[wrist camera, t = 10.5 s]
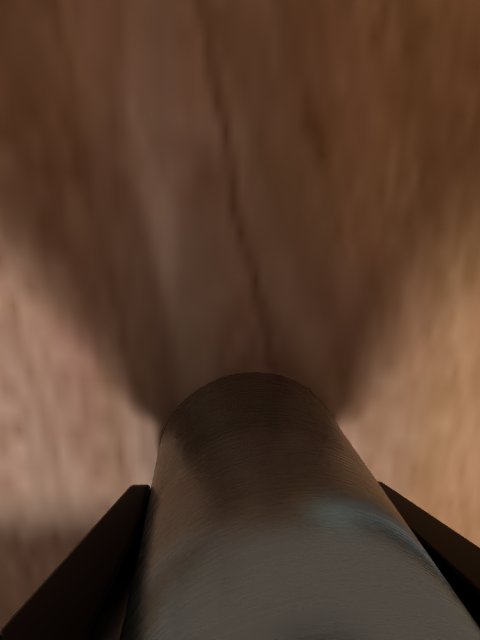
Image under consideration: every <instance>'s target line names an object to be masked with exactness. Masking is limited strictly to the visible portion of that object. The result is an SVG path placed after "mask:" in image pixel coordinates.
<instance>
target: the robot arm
mask: <svg viewBox="0 0 480 640" xmlns="http://www.w3.org/2000/svg"><path fill="white" fill-rule="evenodd" d="M377 482H378V483H379V485H380V486H381V488H382V489H383V490H384V492H385V493H386V495H387V496H388V498H389V499H390V500H391V502H392V503H393V505H394V506H395V508H396V509H397V510H398V512H399V513H400V515H401V516H402V517H403V519H404V520H405V522H406V523H407V525H408V526H409V527H410V529H411V530H412V532H413V533H414V535H415V536H416V537H417V539H418V540H419V542H420V543H421V545H422V546H423V547H424V549H425V550H426V552H427V553H428V555H429V556H430V557H431V559H432V560H433V562H434V563H435V565H436V566H437V567H438V569H439V570H440V572H441V573H442V575H443V576H444V577H445V579H446V580H447V582H448V583H449V584H450V586H451V587H452V589H453V590H454V592H455V593H456V594H457V596H458V597H459V599H460V600H461V602H462V603H463V604H464V606H465V607H466V609H467V610H468V612H469V613H470V614H471V616H472V617H473V619H474V620H475V622H476V623H477V624H478V626H479V627H480V548H479V547H478V546H476V545H475V544H473V543H472V542H470V541H469V540H467V539H466V538H464V537H463V536H461V535H460V534H458V533H457V532H455V531H454V530H452V529H451V528H449V527H448V526H446V525H445V524H443V523H442V522H440V521H439V520H437V519H436V518H434V517H433V516H431V515H430V514H428V513H427V512H425V511H424V510H422V509H421V508H419V507H418V506H416V505H415V504H413V503H412V502H410V501H409V500H407V499H406V498H404V497H403V496H401V495H400V494H398V493H397V492H396V491H394V490H393V489H391V488H390V487H388V486H387V485H385V484H384V483H382V482H379V481H377ZM149 495H150V486H149V485H132V486H130V487H129V488H128V489H127V491H126V492H125V493H124V494H123V495H122V496H121V497H120V498H119V499H118V501H117V502H116V503H115V504H114V505H113V506H112V507H111V508H110V509H109V510H108V512H107V513H106V514H105V515H104V516H103V517H102V518H101V519H100V520H99V522H98V523H97V524H96V525H95V526H94V527H93V528H92V529H91V530H90V532H89V533H88V534H87V535H86V536H85V537H84V538H83V539H82V540H81V542H80V543H79V544H78V545H77V546H76V547H75V548H74V549H73V550H72V552H71V553H70V554H69V555H68V556H67V557H66V558H65V559H64V560H63V562H62V563H61V564H60V565H59V566H58V567H57V568H56V569H55V570H54V572H53V573H52V574H51V575H50V576H49V577H48V578H47V579H46V580H45V581H44V583H43V584H42V585H41V586H40V587H39V588H38V589H37V590H36V591H35V593H34V594H33V595H32V596H31V597H30V598H29V599H28V600H27V601H26V603H25V604H24V605H23V606H22V607H21V608H20V609H19V610H18V611H17V613H16V614H15V615H14V616H13V617H12V618H11V619H10V620H9V621H8V623H7V624H6V625H5V626H4V627H3V628H2V629H1V631H0V640H120V636H121V631H122V626H123V621H124V616H125V611H126V607H127V602H128V597H129V592H130V587H131V582H132V577H133V573H134V568H135V563H136V558H137V553H138V548H139V543H140V539H141V534H142V529H143V524H144V519H145V514H146V509H147V504H148V500H149Z"/></svg>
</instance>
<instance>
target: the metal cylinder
mask: <svg viewBox="0 0 480 640" xmlns="http://www.w3.org/2000/svg"><path fill="white" fill-rule="evenodd" d="M120 640H480V627H479V626H478V624H477V623H476V622H475V620H474V619H473V617H472V616H471V614H470V613H469V612H468V610H467V609H466V607H465V606H464V604H463V603H462V602H461V600H460V599H459V597H458V596H457V594H456V593H455V592H454V590H453V589H452V587H451V586H450V584H449V583H448V582H447V580H446V579H445V577H444V576H443V575H442V573H441V572H440V570H439V569H438V567H437V566H436V565H435V563H434V562H433V560H432V559H431V557H430V556H429V555H428V553H427V552H426V550H425V549H424V547H423V546H422V545H421V543H420V542H419V540H418V539H417V537H416V536H415V535H414V533H413V532H412V530H411V529H410V527H409V526H408V525H407V523H406V522H405V520H404V519H403V517H402V516H401V515H400V513H399V512H398V510H397V509H396V508H395V506H394V505H393V503H392V502H391V500H390V499H389V498H388V496H387V495H386V493H385V492H384V490H383V489H382V488H381V486H380V485H379V483H378V482H377V480H376V479H375V478H374V476H373V475H372V473H371V472H370V470H369V469H368V468H367V466H366V465H365V463H364V462H363V460H362V459H361V458H360V456H359V455H358V453H357V452H356V450H355V449H354V448H353V446H352V445H351V443H350V442H349V441H348V439H347V438H346V436H345V435H344V433H343V432H342V431H341V429H340V428H339V426H338V425H337V423H336V422H335V421H334V419H333V418H332V416H331V415H330V413H329V412H328V411H327V409H326V408H325V406H324V405H323V404H322V403H321V401H320V400H319V399H318V398H317V397H316V396H315V395H314V394H313V393H312V392H311V391H309V390H308V389H307V388H305V387H304V386H302V385H301V384H299V383H297V382H295V381H293V380H290V379H288V378H285V377H282V376H278V375H273V374H267V373H242V374H236V375H231V376H228V377H224V378H221V379H218V380H216V381H213V382H211V383H209V384H207V385H205V386H204V387H202V388H200V389H198V390H197V391H196V392H194V393H193V394H192V395H190V396H189V397H188V398H187V399H186V400H185V401H184V402H183V403H182V404H181V405H180V406H179V407H178V408H177V409H176V411H175V412H174V413H173V414H172V416H171V418H170V419H169V421H168V423H167V425H166V427H165V429H164V432H163V434H162V438H161V442H160V446H159V451H158V456H157V461H156V466H155V470H154V475H153V480H152V485H151V490H150V495H149V500H148V504H147V509H146V514H145V519H144V524H143V529H142V534H141V539H140V543H139V548H138V553H137V558H136V563H135V568H134V573H133V577H132V582H131V587H130V592H129V597H128V602H127V607H126V611H125V616H124V621H123V626H122V631H121V636H120Z"/></svg>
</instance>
